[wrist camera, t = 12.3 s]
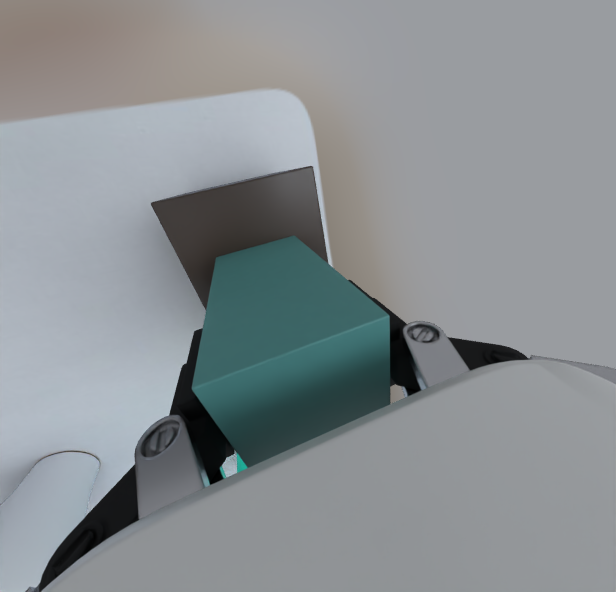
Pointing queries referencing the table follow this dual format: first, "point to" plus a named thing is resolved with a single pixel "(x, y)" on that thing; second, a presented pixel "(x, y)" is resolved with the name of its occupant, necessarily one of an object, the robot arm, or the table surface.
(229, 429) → the block
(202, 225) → the dark brown box
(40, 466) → the cup
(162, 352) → the table surface
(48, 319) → the table surface
